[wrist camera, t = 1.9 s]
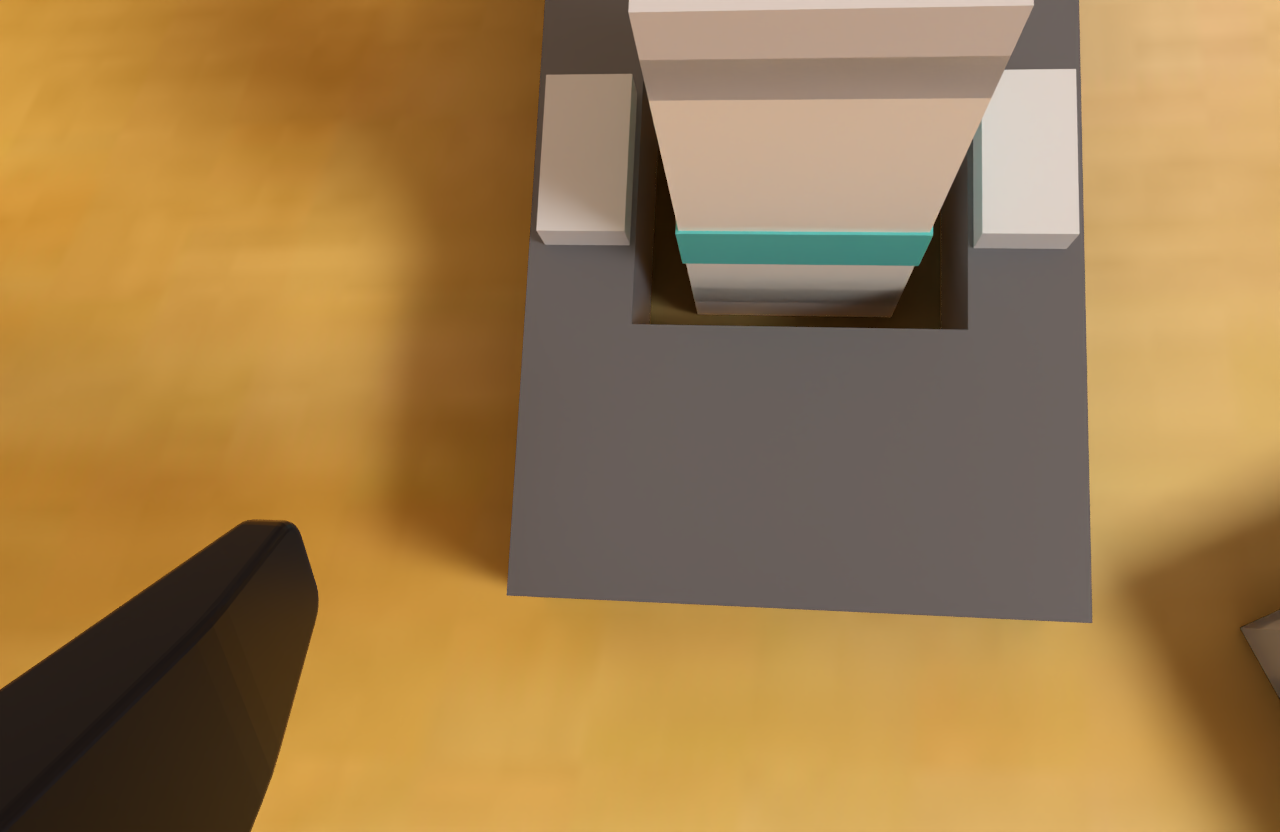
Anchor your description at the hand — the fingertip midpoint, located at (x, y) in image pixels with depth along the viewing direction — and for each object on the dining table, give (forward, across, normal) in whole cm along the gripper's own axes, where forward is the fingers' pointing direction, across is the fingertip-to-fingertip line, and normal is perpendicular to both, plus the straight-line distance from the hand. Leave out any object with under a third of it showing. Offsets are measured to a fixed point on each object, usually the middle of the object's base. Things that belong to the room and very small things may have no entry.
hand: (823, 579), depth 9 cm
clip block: (+15, 0, +4) cm, 15 cm away
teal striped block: (+15, 0, +4) cm, 15 cm away
